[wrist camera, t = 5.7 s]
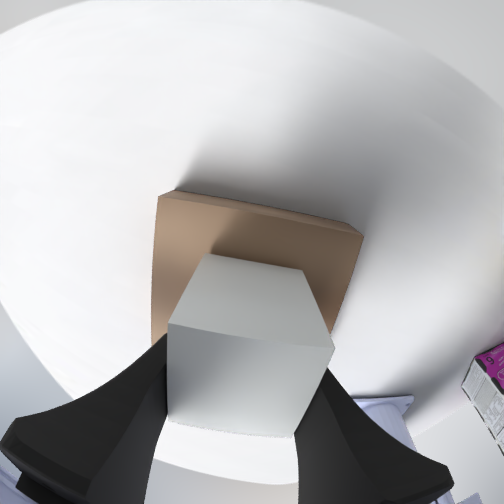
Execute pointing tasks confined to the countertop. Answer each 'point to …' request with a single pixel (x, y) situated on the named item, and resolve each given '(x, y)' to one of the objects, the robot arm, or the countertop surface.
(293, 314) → the white small block
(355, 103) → the countertop surface
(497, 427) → the candy bar box
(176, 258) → the walnut block
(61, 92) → the countertop surface
